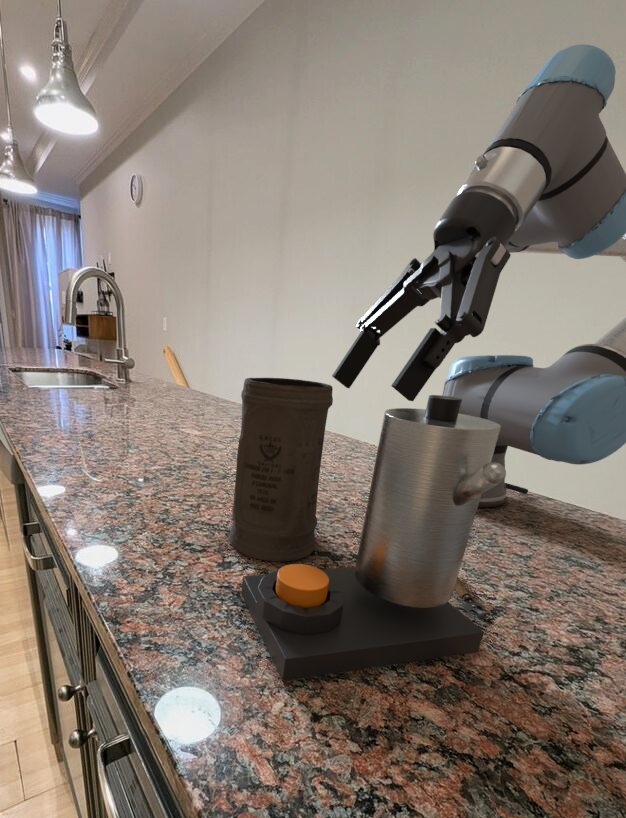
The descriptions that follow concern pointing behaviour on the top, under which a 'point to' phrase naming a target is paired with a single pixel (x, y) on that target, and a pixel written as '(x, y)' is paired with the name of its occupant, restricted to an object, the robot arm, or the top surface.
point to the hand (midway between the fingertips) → (367, 387)
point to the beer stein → (279, 467)
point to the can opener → (468, 600)
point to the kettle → (425, 501)
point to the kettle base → (352, 628)
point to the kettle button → (302, 585)
